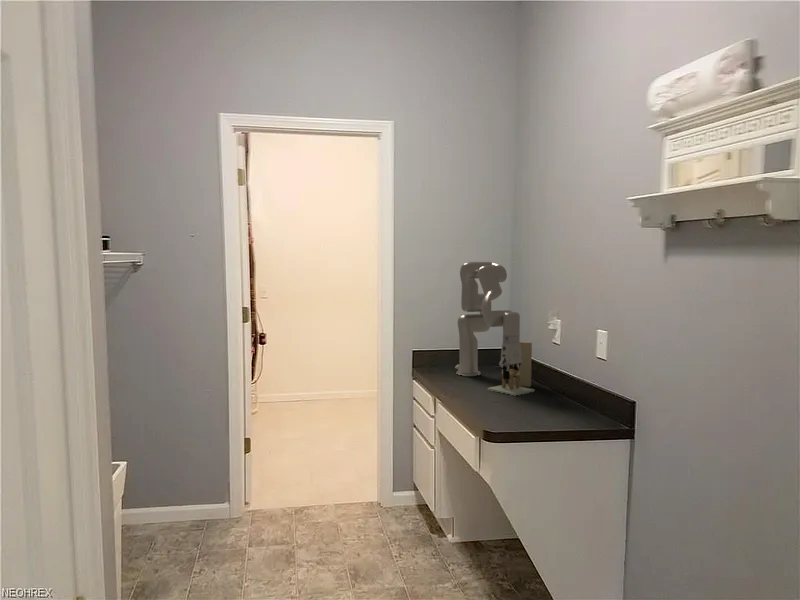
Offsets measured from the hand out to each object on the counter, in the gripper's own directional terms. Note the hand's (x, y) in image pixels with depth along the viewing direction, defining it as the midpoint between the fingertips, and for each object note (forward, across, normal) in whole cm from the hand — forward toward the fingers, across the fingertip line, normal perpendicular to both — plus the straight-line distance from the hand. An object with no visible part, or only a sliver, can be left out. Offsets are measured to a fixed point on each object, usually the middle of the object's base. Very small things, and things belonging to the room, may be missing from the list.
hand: (510, 377), depth 267 cm
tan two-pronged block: (+5, 0, 0) cm, 5 cm away
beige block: (+6, +14, +5) cm, 16 cm away
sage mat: (+6, 0, 0) cm, 6 cm away
